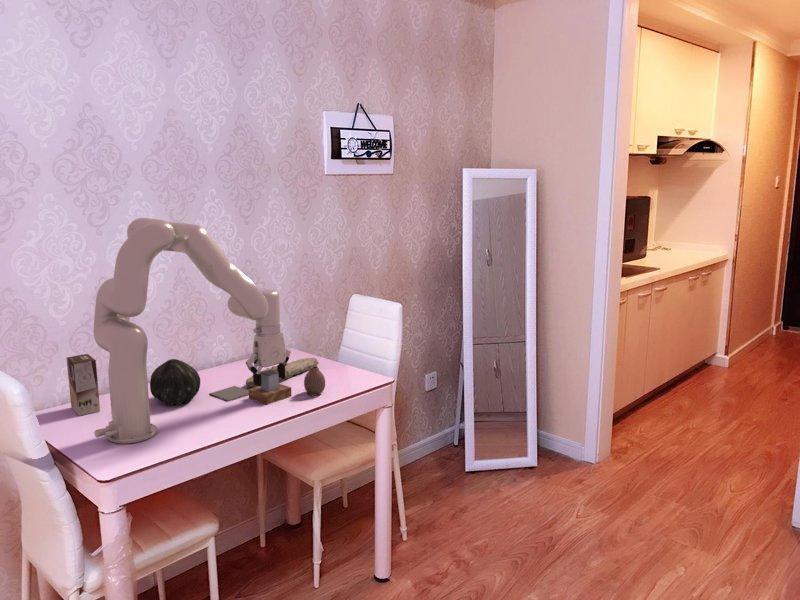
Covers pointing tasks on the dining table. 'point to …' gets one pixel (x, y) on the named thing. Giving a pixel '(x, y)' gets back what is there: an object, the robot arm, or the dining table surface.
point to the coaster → (230, 393)
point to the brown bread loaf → (290, 369)
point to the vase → (314, 381)
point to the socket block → (269, 394)
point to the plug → (269, 380)
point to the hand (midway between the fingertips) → (269, 381)
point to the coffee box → (83, 384)
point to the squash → (174, 382)
